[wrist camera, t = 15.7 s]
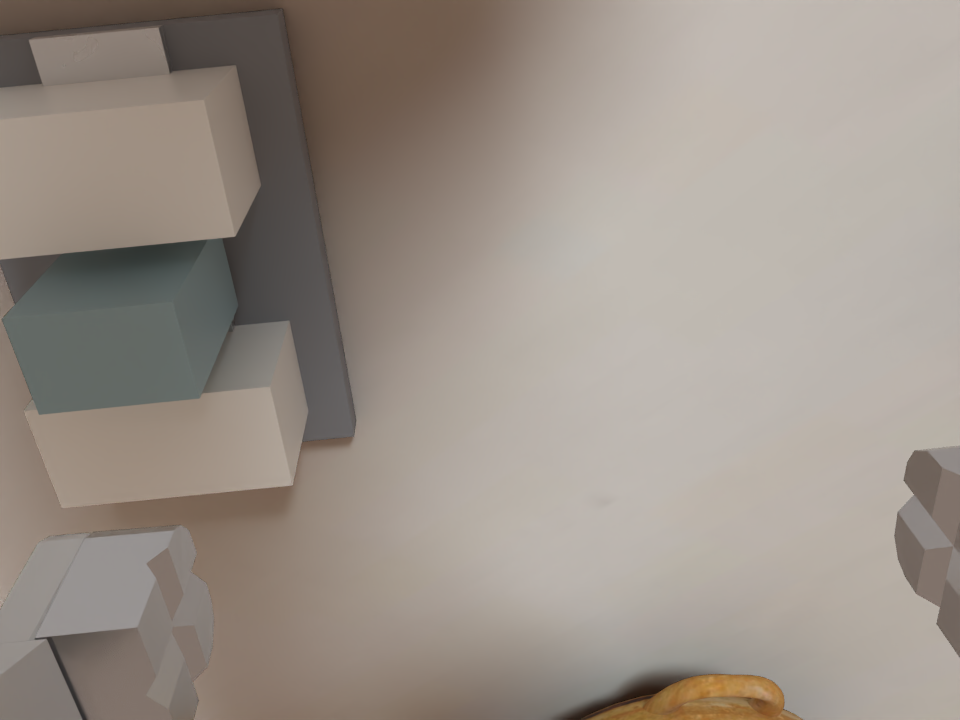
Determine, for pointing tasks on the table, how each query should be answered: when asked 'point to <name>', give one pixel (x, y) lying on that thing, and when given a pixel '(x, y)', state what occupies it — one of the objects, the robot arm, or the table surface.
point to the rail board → (177, 239)
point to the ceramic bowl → (705, 701)
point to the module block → (123, 325)
